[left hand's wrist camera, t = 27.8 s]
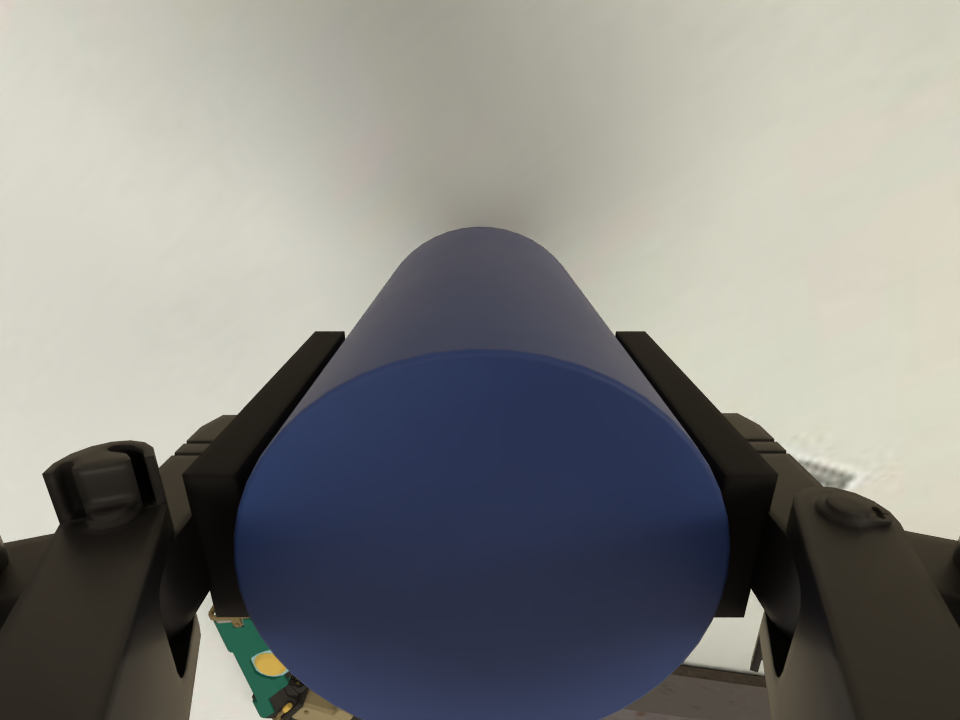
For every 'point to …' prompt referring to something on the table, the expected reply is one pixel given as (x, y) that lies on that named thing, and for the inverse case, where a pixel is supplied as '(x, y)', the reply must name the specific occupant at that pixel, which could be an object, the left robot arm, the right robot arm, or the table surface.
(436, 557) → the canister
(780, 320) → the table surface
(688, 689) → the toy
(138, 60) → the table surface
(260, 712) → the spray gun
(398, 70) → the table surface
